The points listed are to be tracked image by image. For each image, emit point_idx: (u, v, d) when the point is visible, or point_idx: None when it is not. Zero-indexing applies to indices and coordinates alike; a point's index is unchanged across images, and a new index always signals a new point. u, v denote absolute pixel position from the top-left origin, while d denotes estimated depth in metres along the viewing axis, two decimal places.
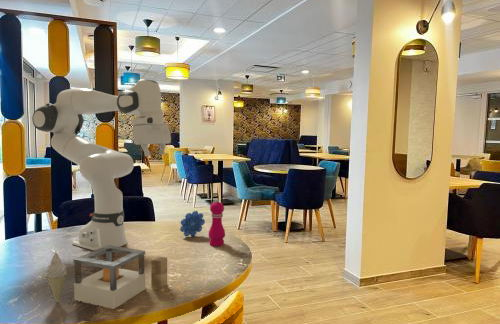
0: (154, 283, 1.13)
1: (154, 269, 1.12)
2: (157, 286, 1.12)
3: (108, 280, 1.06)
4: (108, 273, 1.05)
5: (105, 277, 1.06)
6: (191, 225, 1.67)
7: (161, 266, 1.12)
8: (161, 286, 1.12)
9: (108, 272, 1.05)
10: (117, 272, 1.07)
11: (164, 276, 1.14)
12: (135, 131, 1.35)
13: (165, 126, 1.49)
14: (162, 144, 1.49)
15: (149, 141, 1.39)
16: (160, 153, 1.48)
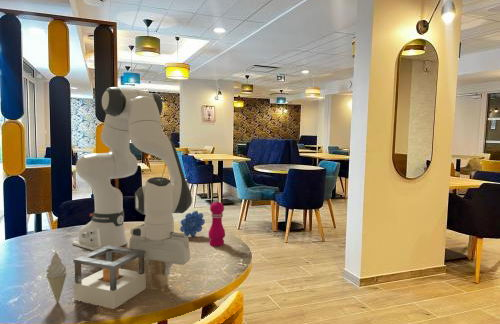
0: (154, 283, 1.13)
1: (154, 269, 1.12)
2: (157, 286, 1.12)
3: (108, 280, 1.06)
4: (108, 273, 1.05)
5: (105, 277, 1.06)
6: (191, 225, 1.67)
7: (161, 266, 1.12)
8: (161, 286, 1.12)
9: (108, 272, 1.05)
10: (117, 272, 1.07)
11: (164, 276, 1.14)
12: None
13: (174, 241, 1.09)
14: None
15: None
16: None
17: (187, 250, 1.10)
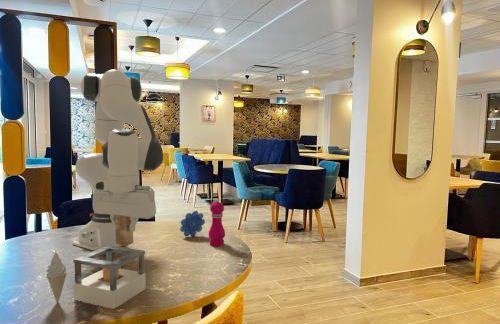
0: (118, 239, 1.07)
1: (118, 225, 1.07)
2: (122, 242, 1.07)
3: (108, 280, 1.06)
4: (108, 273, 1.05)
5: (105, 277, 1.06)
6: (191, 225, 1.67)
7: (126, 222, 1.06)
8: (126, 242, 1.07)
9: (108, 272, 1.05)
10: (117, 272, 1.07)
11: (130, 232, 1.08)
12: None
13: (139, 194, 1.04)
14: None
15: (106, 212, 1.08)
16: None
17: (153, 204, 1.05)
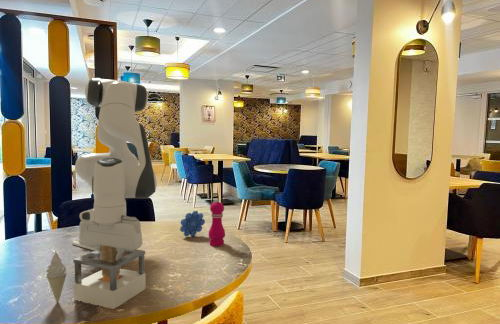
0: (105, 270, 1.06)
1: (104, 255, 1.06)
2: (108, 273, 1.06)
3: None
4: (108, 281, 1.06)
5: None
6: (191, 225, 1.67)
7: (112, 252, 1.05)
8: None
9: (108, 280, 1.06)
10: None
11: None
12: None
13: (124, 225, 1.02)
14: None
15: (92, 242, 1.07)
16: None
17: (139, 235, 1.04)
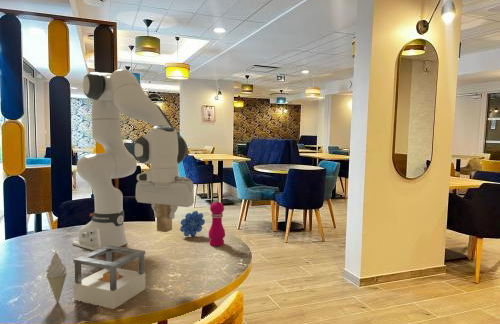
0: (159, 226, 1.17)
1: (159, 213, 1.17)
2: (163, 229, 1.17)
3: None
4: (108, 281, 1.06)
5: None
6: (191, 225, 1.67)
7: (166, 210, 1.17)
8: (166, 229, 1.17)
9: (108, 280, 1.06)
10: None
11: (169, 220, 1.19)
12: None
13: (179, 185, 1.14)
14: None
15: (148, 201, 1.18)
16: None
17: (191, 193, 1.15)
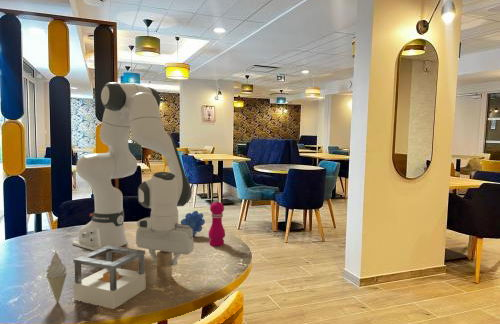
0: (159, 275, 1.19)
1: (159, 262, 1.18)
2: (163, 278, 1.19)
3: None
4: (108, 281, 1.06)
5: None
6: (191, 225, 1.67)
7: (166, 259, 1.18)
8: (166, 278, 1.18)
9: (108, 280, 1.06)
10: None
11: (169, 268, 1.20)
12: None
13: (179, 232, 1.15)
14: None
15: (148, 247, 1.20)
16: None
17: (191, 241, 1.16)
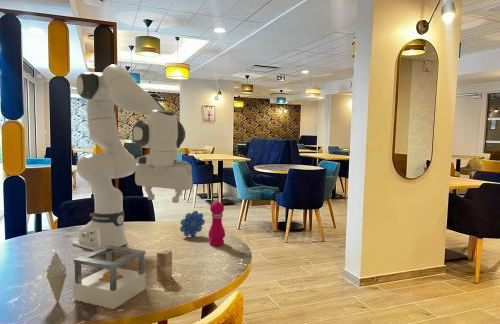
0: (159, 275, 1.19)
1: (159, 262, 1.18)
2: (163, 278, 1.19)
3: None
4: (108, 281, 1.06)
5: None
6: (191, 225, 1.67)
7: (166, 259, 1.18)
8: (166, 278, 1.18)
9: (108, 280, 1.06)
10: None
11: (169, 268, 1.20)
12: None
13: (178, 168, 1.15)
14: None
15: (147, 184, 1.20)
16: None
17: (190, 177, 1.16)
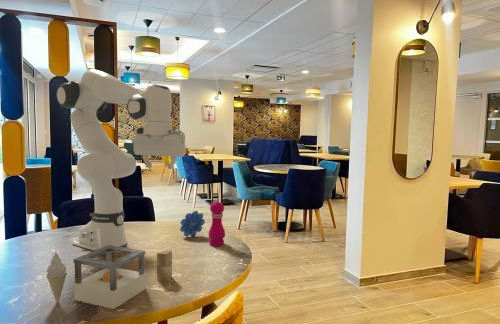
0: (159, 275, 1.19)
1: (159, 262, 1.18)
2: (163, 278, 1.19)
3: None
4: (108, 281, 1.06)
5: None
6: (191, 225, 1.67)
7: (166, 259, 1.18)
8: (166, 278, 1.18)
9: (108, 280, 1.06)
10: None
11: (169, 268, 1.20)
12: None
13: (172, 136, 1.27)
14: None
15: (144, 153, 1.32)
16: None
17: (183, 145, 1.28)
